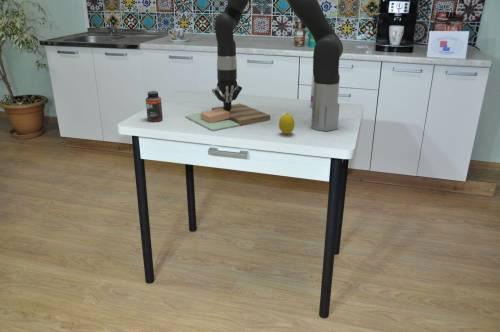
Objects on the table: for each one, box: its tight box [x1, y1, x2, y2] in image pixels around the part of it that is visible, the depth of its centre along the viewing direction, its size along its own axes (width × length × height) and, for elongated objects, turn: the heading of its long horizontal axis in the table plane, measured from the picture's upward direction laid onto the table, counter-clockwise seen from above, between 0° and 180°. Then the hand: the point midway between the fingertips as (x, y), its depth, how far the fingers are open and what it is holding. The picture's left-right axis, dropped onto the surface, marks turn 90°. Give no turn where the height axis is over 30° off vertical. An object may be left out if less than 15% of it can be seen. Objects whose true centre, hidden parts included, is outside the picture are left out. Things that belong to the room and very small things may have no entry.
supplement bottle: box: [145, 90, 164, 123], centre depth 185 cm, size 6×6×11 cm
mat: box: [184, 112, 241, 132], centre depth 185 cm, size 22×12×1 cm, turn 34°
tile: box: [200, 108, 230, 123], centre depth 185 cm, size 7×9×2 cm
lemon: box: [278, 112, 296, 135], centre depth 169 cm, size 6×6×8 cm
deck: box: [211, 103, 271, 127], centre depth 192 cm, size 22×14×2 cm, turn 34°
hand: (227, 111), depth 188 cm, fingers closed
